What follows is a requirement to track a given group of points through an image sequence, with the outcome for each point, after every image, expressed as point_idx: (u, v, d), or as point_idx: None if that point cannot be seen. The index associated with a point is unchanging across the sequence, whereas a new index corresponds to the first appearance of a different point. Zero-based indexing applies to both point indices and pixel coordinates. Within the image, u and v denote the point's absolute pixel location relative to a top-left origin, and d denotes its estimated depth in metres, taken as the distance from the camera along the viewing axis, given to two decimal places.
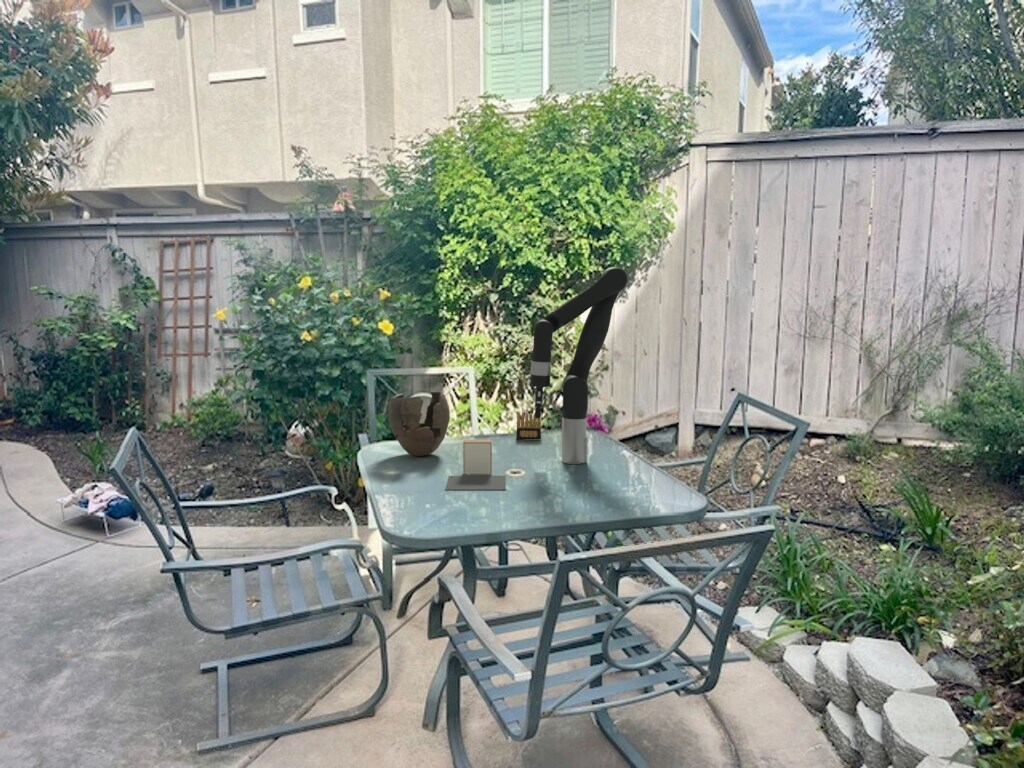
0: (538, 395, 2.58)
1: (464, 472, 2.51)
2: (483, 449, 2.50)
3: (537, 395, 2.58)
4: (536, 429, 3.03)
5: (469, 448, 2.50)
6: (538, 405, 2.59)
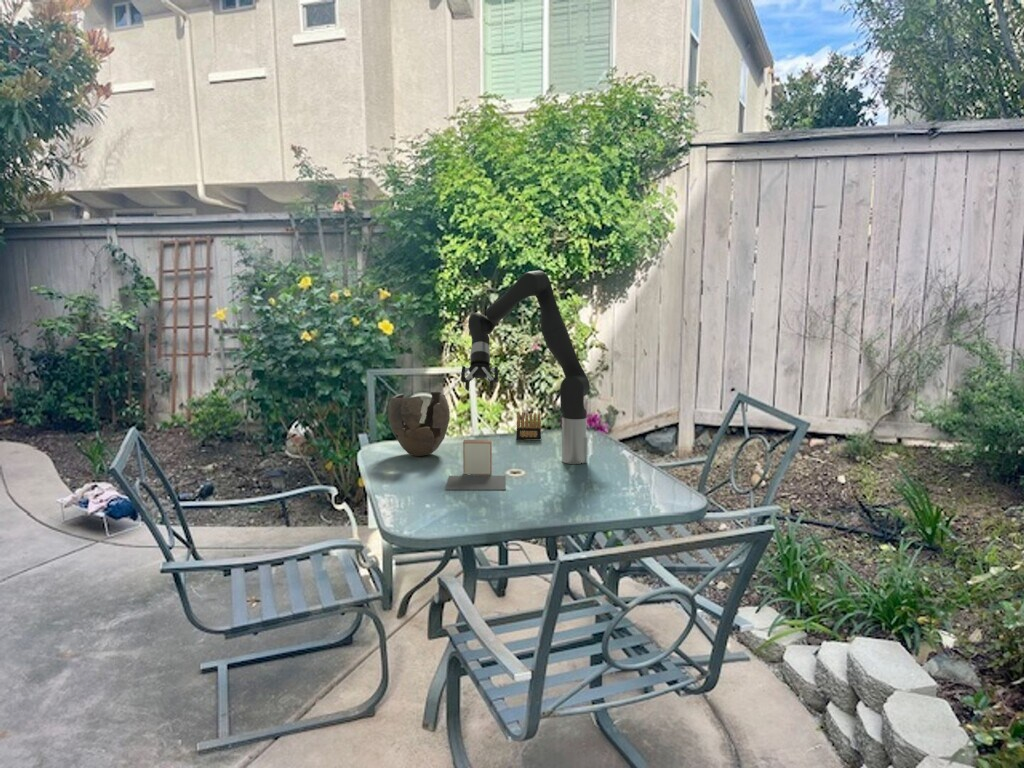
0: None
1: (464, 472, 2.51)
2: (483, 449, 2.50)
3: None
4: (536, 429, 3.03)
5: (469, 448, 2.50)
6: None
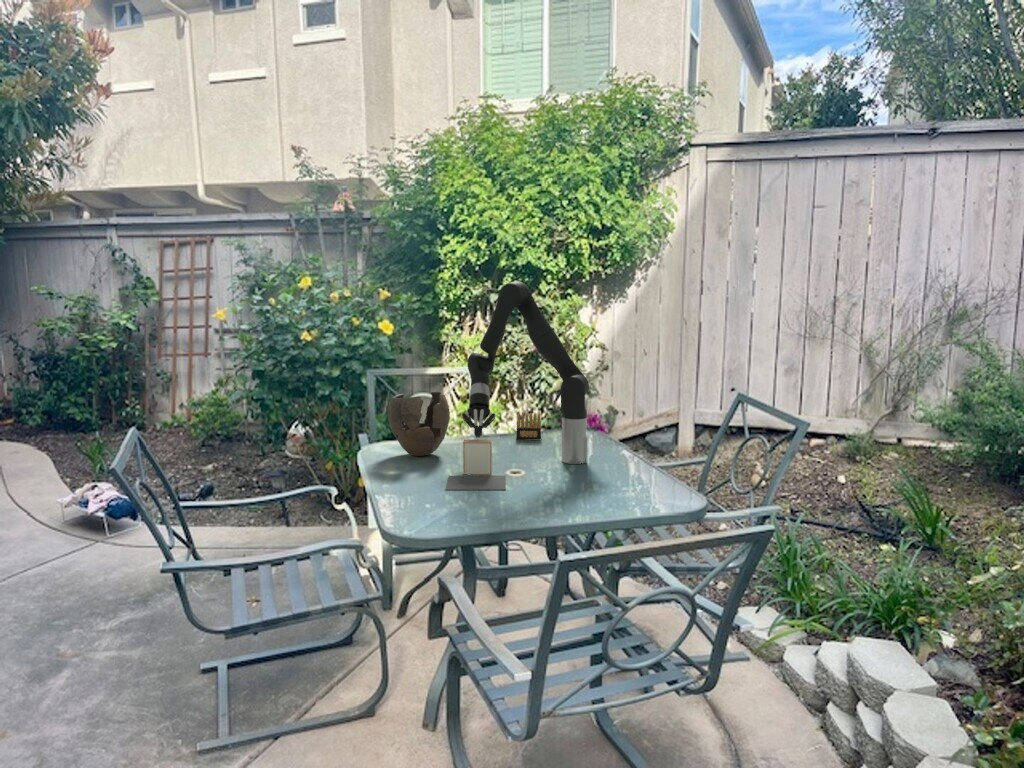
0: (464, 419, 2.65)
1: (464, 472, 2.51)
2: (483, 449, 2.50)
3: (464, 419, 2.65)
4: (536, 429, 3.03)
5: (469, 448, 2.50)
6: (470, 425, 2.63)
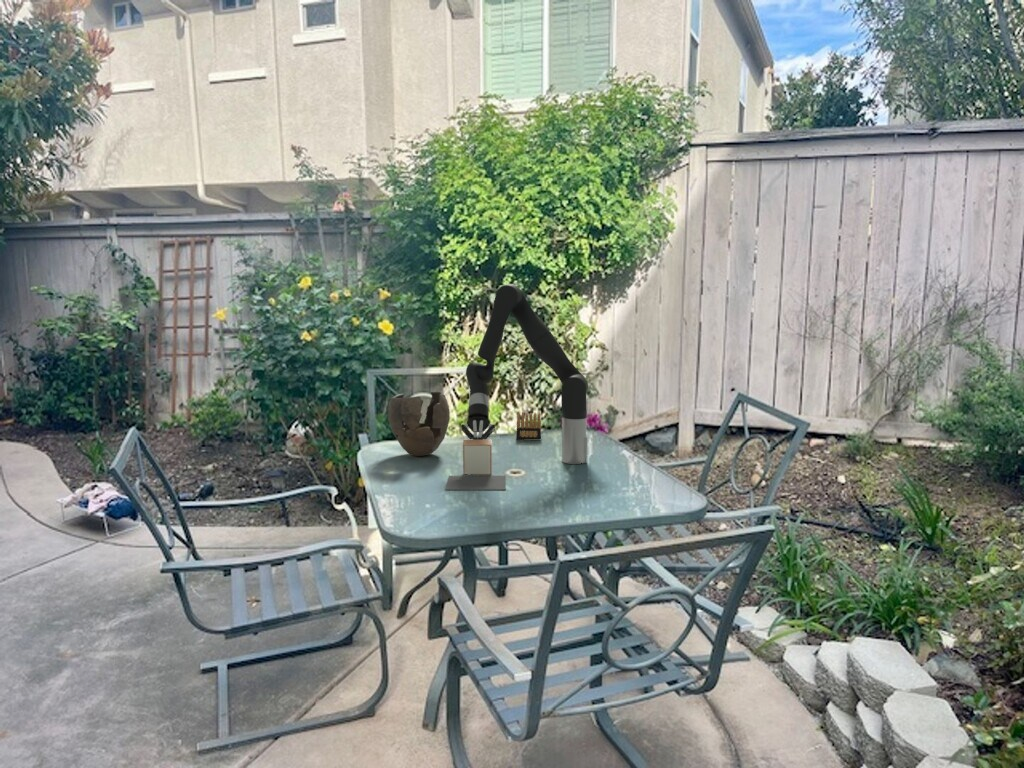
0: (463, 430, 2.57)
1: (464, 472, 2.51)
2: (483, 451, 2.48)
3: (463, 431, 2.58)
4: (536, 429, 3.03)
5: (469, 450, 2.48)
6: (469, 436, 2.56)
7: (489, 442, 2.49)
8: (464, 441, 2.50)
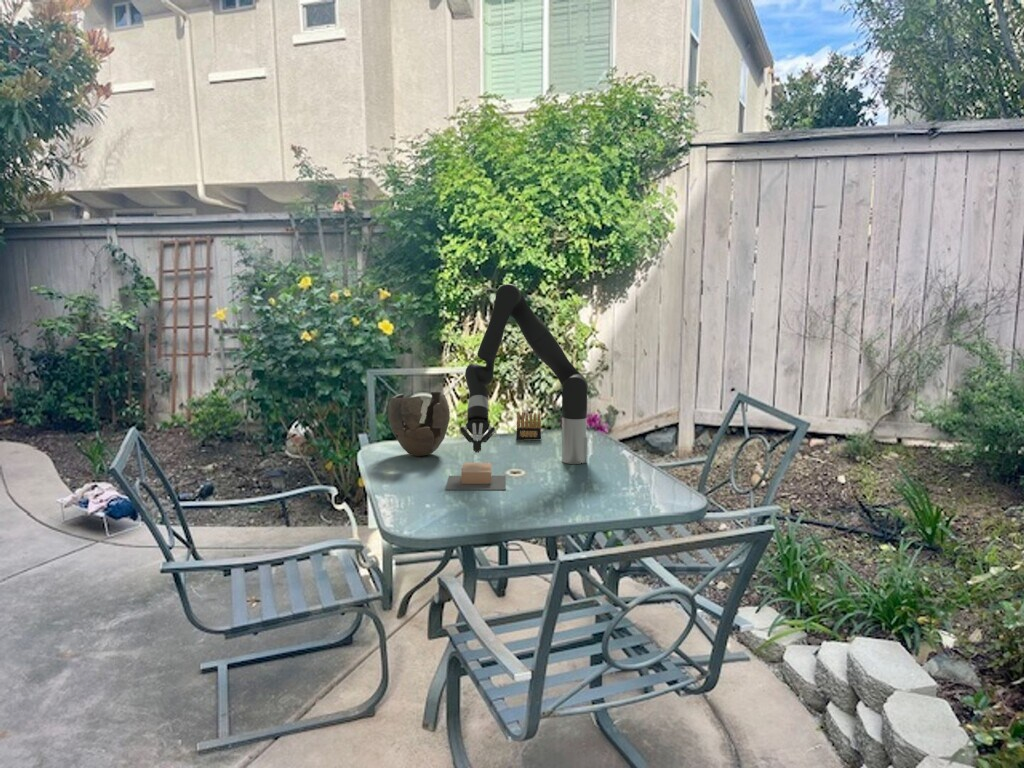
0: (462, 433, 2.53)
1: None
2: None
3: (462, 433, 2.53)
4: (536, 429, 3.03)
5: None
6: (468, 439, 2.51)
7: (488, 479, 2.39)
8: (462, 476, 2.39)
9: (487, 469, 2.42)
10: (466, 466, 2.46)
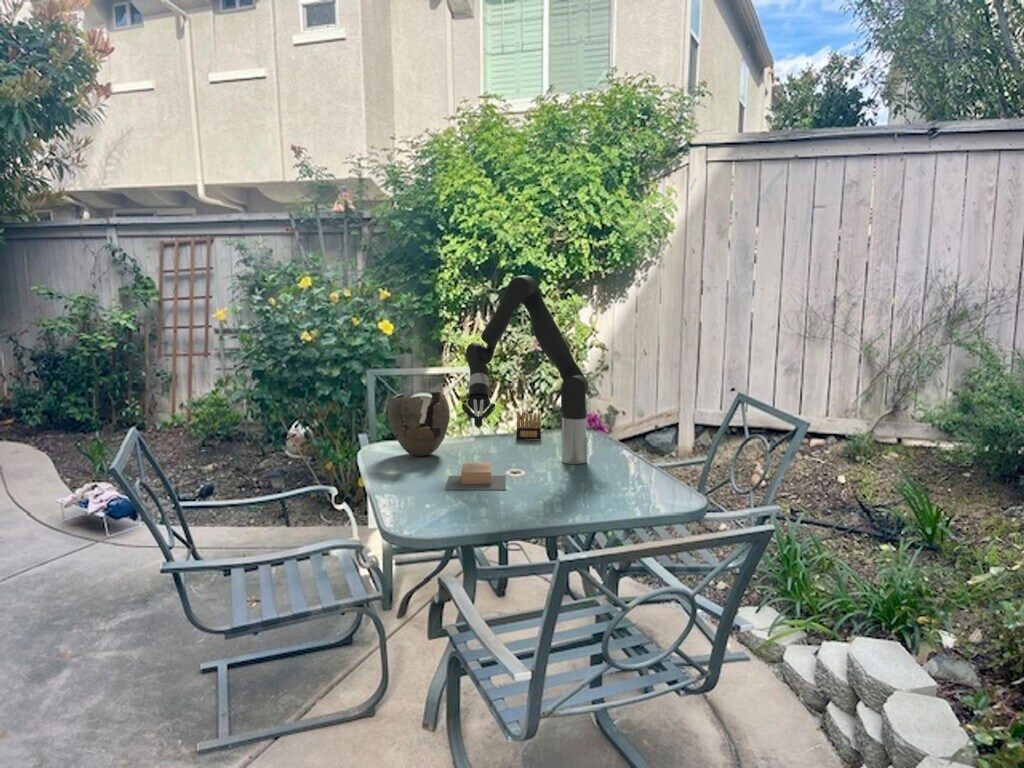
0: (463, 409, 2.61)
1: None
2: None
3: (464, 410, 2.61)
4: (536, 429, 3.03)
5: None
6: (470, 415, 2.59)
7: (488, 479, 2.39)
8: (462, 476, 2.39)
9: (487, 469, 2.42)
10: (466, 466, 2.46)
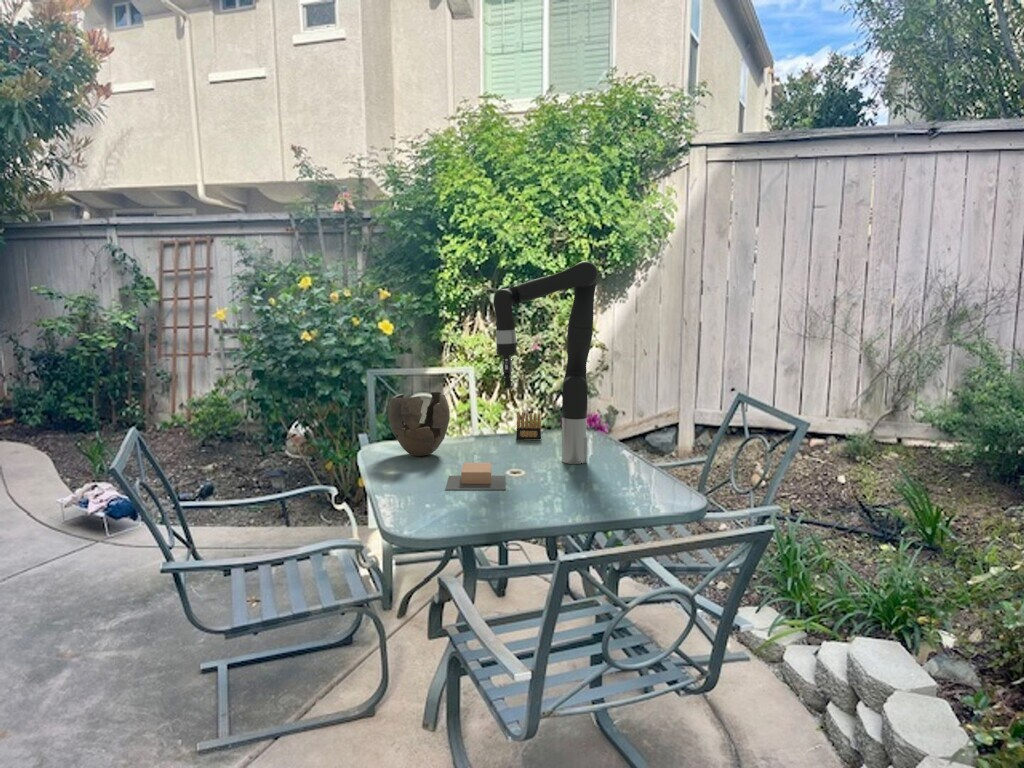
0: (505, 369, 2.63)
1: None
2: None
3: (505, 369, 2.64)
4: (536, 429, 3.03)
5: None
6: (507, 375, 2.66)
7: (488, 479, 2.39)
8: (462, 476, 2.39)
9: (487, 469, 2.42)
10: (466, 466, 2.46)
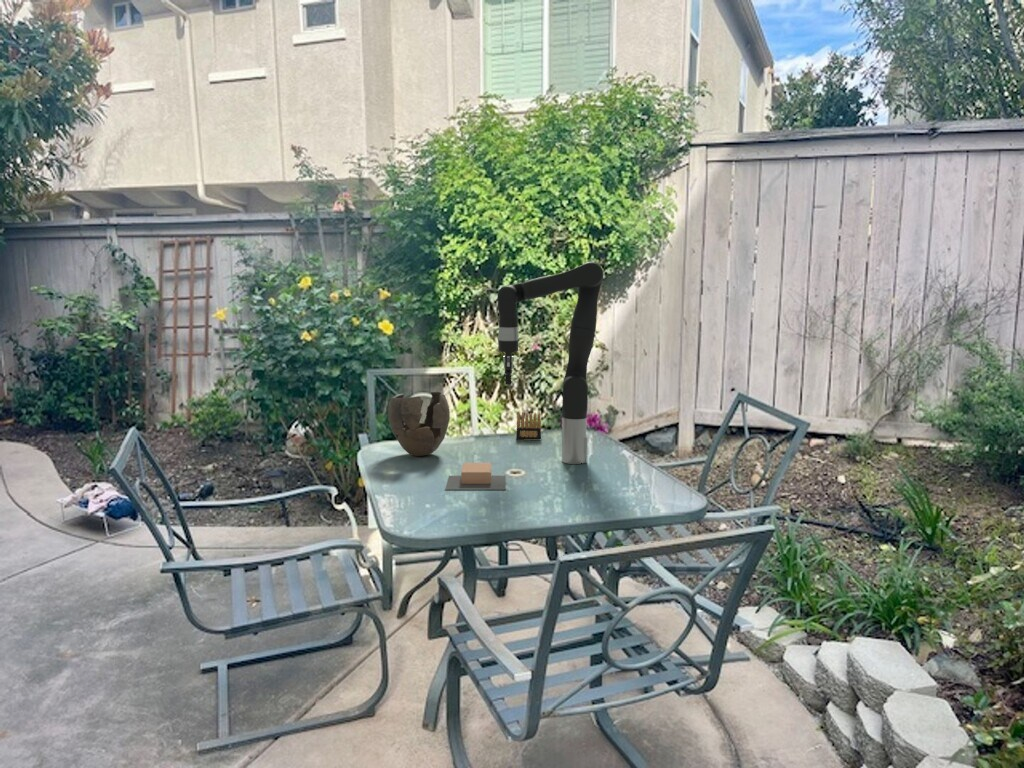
0: (507, 366, 2.63)
1: None
2: None
3: (506, 366, 2.63)
4: (536, 429, 3.03)
5: None
6: (508, 372, 2.66)
7: (488, 479, 2.39)
8: (462, 476, 2.39)
9: (487, 469, 2.42)
10: (466, 466, 2.46)
